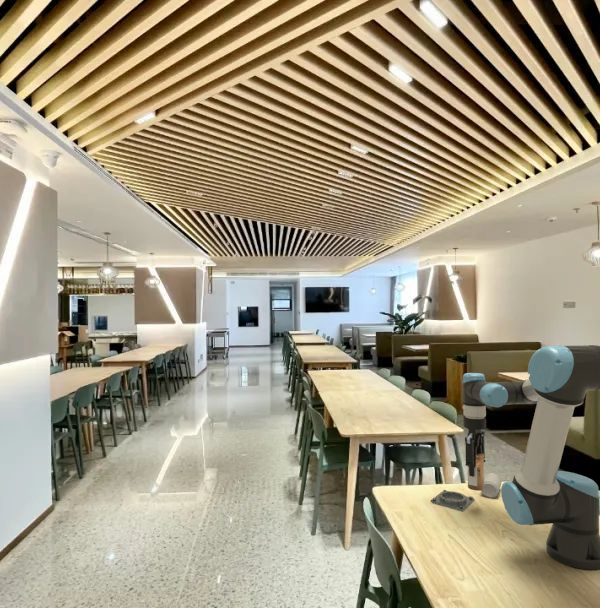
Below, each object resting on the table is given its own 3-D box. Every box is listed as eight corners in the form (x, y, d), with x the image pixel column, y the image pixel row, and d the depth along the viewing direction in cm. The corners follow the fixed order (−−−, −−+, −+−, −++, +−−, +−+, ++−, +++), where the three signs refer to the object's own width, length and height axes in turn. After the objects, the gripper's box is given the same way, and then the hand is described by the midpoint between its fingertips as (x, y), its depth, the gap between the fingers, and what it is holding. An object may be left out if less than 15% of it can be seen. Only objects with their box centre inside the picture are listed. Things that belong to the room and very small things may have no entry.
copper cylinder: (487, 487, 164) (486, 453, 165) (481, 492, 160) (480, 457, 160) (470, 483, 168) (470, 450, 169) (464, 488, 164) (464, 454, 164)
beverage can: (478, 494, 176) (482, 484, 187) (496, 501, 173) (499, 490, 184) (482, 478, 176) (486, 469, 186) (500, 485, 173) (503, 475, 183)
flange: (474, 500, 173) (474, 495, 173) (462, 511, 163) (462, 505, 164) (443, 492, 180) (443, 487, 180) (430, 502, 171) (430, 497, 171)
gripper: (473, 411, 174) (474, 473, 174) (454, 419, 160) (455, 487, 160) (493, 414, 170) (495, 478, 169) (476, 422, 156) (477, 492, 155)
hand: (475, 482), depth 164 cm, fingers closed on copper cylinder, 5 cm apart
